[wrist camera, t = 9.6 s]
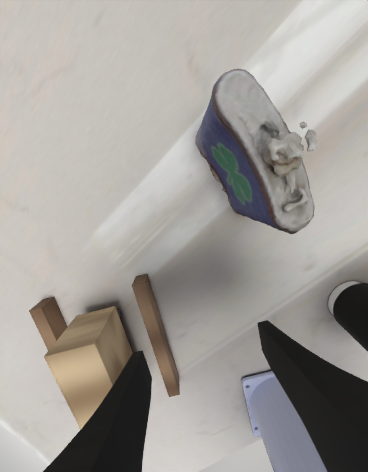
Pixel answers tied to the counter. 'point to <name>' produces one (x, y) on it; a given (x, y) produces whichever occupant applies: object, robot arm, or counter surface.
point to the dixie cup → (351, 309)
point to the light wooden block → (89, 360)
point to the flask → (256, 154)
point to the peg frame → (54, 324)
